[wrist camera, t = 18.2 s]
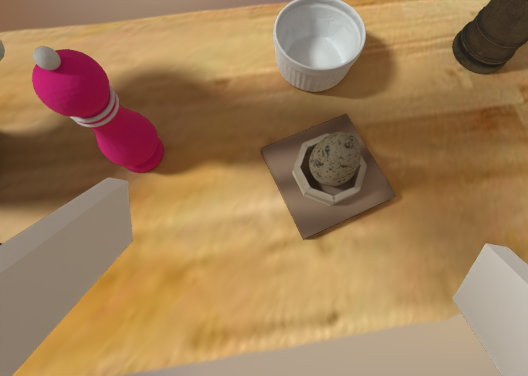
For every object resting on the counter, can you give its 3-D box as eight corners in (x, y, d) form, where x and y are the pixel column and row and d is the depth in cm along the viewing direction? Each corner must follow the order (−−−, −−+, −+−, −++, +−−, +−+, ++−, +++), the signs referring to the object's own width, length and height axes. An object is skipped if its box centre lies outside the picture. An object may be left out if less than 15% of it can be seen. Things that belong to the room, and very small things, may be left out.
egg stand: (261, 152, 41) (261, 142, 38) (343, 118, 43) (350, 105, 40) (303, 239, 38) (307, 236, 34) (391, 198, 39) (403, 192, 36)
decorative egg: (354, 165, 39) (385, 131, 30) (336, 200, 38) (361, 176, 28) (317, 145, 40) (335, 105, 30) (297, 178, 38) (309, 148, 29)
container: (481, 83, 45) (618, -32, 28) (439, 47, 47) (543, -81, 30) (515, 55, 47) (665, -70, 29) (474, 22, 49) (591, -114, 31)
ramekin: (325, 114, 43) (337, 85, 37) (255, 74, 45) (254, 40, 39) (365, 56, 46) (382, 20, 40) (298, 21, 48) (304, -19, 42)
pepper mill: (159, 124, 42) (76, 4, 23) (173, 166, 40) (94, 72, 21) (113, 140, 42) (-14, 29, 22) (124, 183, 40) (-4, 102, 20)
